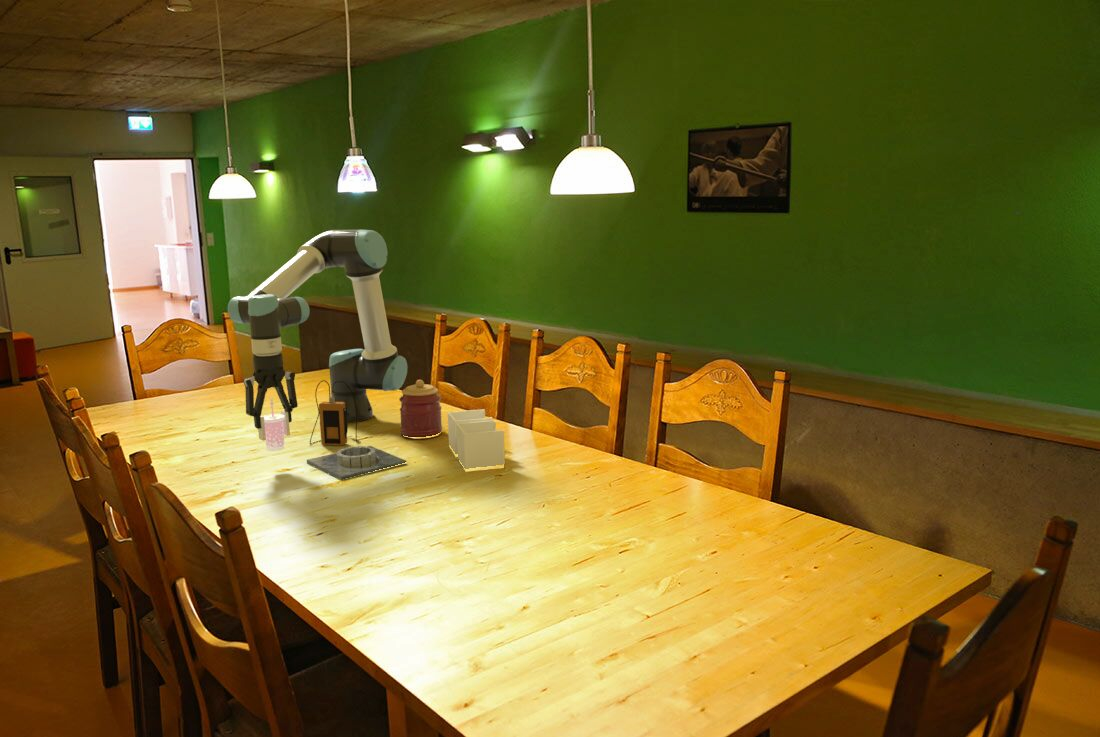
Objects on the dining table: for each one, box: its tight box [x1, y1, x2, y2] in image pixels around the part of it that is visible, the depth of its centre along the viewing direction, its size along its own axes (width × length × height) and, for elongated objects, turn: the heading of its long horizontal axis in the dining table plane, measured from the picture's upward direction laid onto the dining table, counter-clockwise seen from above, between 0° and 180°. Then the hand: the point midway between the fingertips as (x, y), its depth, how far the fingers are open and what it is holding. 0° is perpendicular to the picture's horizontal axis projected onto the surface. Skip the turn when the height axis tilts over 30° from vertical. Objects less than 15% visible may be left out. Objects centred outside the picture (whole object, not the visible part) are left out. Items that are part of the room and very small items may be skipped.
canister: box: [398, 379, 443, 437], centre depth 258 cm, size 13×13×18 cm
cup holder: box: [306, 445, 407, 481], centre depth 230 cm, size 20×20×4 cm
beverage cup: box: [262, 398, 285, 452], centre depth 223 cm, size 6×6×14 cm
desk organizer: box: [447, 408, 506, 469], centre depth 234 cm, size 25×11×11 cm, turn 17°
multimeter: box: [309, 380, 360, 447], centre depth 250 cm, size 15×10×20 cm
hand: (274, 436), depth 224 cm, fingers closed on beverage cup, 6 cm apart
